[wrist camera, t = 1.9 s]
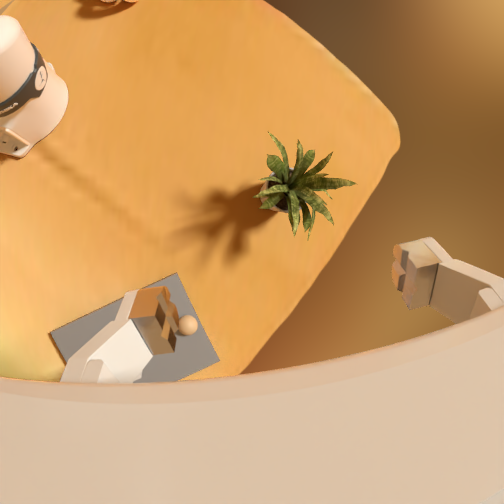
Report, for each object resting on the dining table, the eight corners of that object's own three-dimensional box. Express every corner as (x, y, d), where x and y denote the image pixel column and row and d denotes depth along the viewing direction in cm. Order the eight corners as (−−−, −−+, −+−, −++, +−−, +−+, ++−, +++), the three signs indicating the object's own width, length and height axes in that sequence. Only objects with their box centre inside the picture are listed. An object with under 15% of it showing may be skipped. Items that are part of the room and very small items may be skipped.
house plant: (208, 198, 49) (228, 177, 33) (258, 137, 51) (295, 98, 35) (275, 252, 52) (322, 255, 36) (318, 190, 54) (374, 172, 38)
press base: (100, 408, 44) (94, 424, 39) (53, 330, 42) (42, 339, 37) (218, 357, 50) (224, 370, 45) (176, 272, 48) (177, 275, 42)
